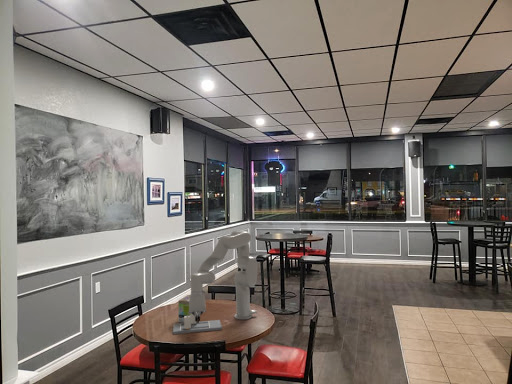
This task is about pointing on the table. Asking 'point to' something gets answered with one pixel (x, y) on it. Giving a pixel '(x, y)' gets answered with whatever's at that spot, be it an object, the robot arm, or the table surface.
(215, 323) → the console
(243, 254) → the robot arm
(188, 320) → the block
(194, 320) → the tab
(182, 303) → the tea box
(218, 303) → the table surface
